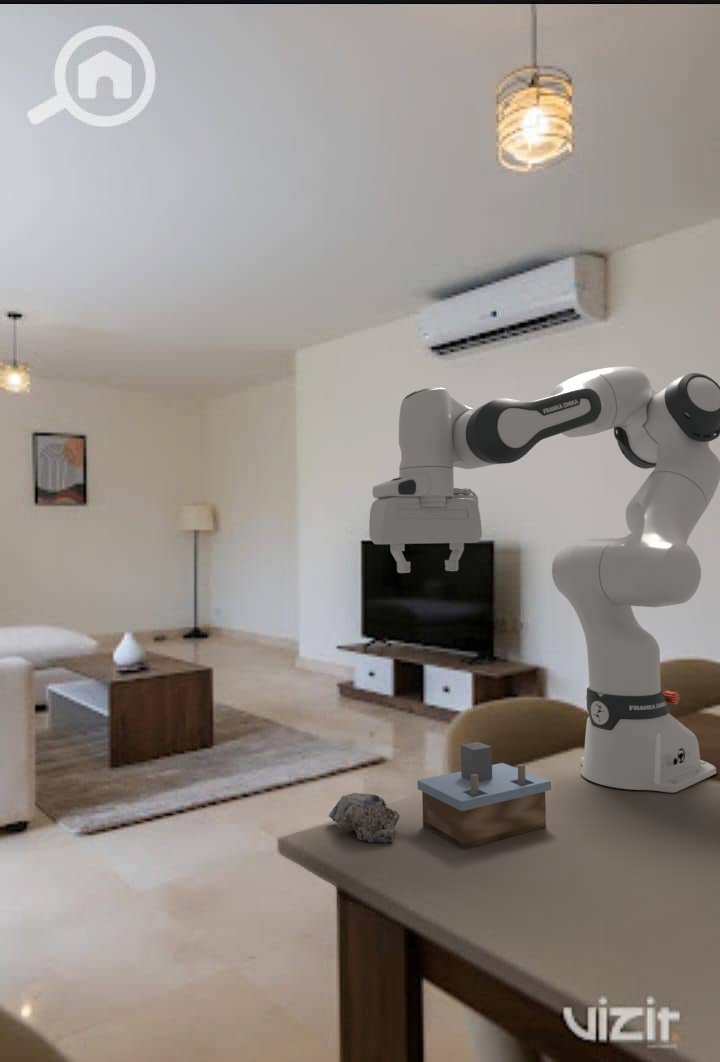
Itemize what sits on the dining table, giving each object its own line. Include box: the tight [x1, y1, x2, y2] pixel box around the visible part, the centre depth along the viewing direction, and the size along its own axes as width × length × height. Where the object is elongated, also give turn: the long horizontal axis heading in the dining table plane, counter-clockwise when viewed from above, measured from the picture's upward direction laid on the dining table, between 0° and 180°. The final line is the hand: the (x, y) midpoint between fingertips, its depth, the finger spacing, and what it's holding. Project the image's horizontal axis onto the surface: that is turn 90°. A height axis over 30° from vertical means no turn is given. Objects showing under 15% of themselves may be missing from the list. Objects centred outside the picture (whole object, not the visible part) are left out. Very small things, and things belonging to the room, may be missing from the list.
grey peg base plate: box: [417, 741, 552, 811], centre depth 102 cm, size 15×10×6 cm, turn 119°
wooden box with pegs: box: [421, 763, 547, 850], centre depth 101 cm, size 14×9×8 cm, turn 119°
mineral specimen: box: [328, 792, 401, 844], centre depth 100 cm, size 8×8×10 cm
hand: (428, 571), depth 121 cm, fingers open, 8 cm apart
